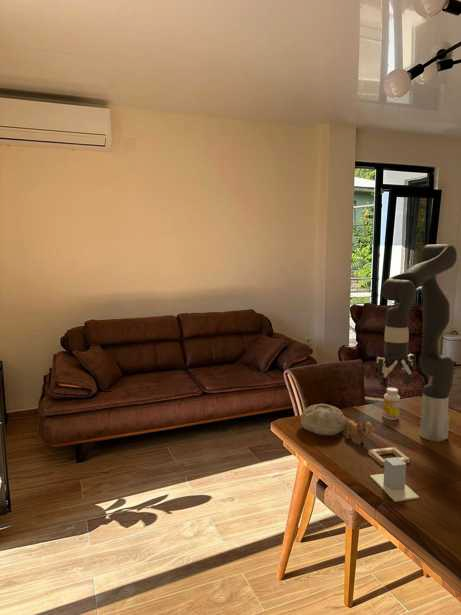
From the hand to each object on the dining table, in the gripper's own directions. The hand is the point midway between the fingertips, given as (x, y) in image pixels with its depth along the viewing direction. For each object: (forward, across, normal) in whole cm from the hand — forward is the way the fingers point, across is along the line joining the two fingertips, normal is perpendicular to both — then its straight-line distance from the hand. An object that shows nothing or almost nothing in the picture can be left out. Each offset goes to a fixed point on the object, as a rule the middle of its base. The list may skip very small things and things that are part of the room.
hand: (395, 385), depth 147 cm
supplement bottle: (+29, -23, -35) cm, 50 cm away
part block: (+27, +9, +14) cm, 32 cm away
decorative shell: (+28, +13, -29) cm, 42 cm away
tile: (+27, +10, +14) cm, 32 cm away
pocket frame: (+28, 0, -2) cm, 28 cm away
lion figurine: (+28, +4, -18) cm, 33 cm away
